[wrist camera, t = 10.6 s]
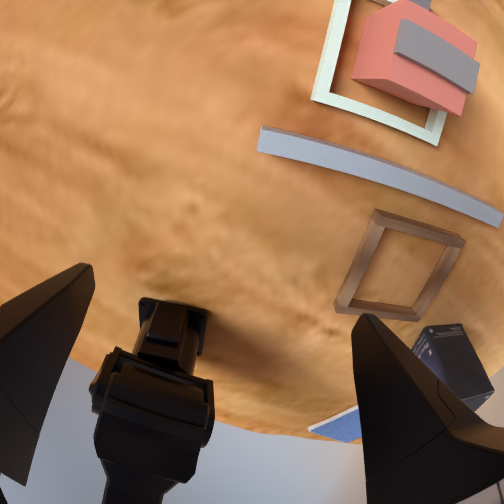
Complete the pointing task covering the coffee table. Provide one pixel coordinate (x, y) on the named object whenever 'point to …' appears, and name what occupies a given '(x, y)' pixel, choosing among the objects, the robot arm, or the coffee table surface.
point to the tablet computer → (340, 426)
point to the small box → (454, 363)
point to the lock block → (417, 57)
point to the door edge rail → (373, 171)
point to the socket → (324, 96)
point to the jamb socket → (366, 252)
